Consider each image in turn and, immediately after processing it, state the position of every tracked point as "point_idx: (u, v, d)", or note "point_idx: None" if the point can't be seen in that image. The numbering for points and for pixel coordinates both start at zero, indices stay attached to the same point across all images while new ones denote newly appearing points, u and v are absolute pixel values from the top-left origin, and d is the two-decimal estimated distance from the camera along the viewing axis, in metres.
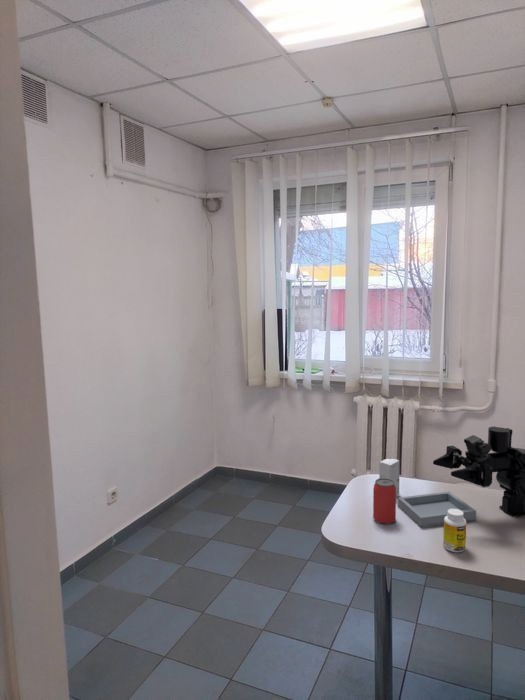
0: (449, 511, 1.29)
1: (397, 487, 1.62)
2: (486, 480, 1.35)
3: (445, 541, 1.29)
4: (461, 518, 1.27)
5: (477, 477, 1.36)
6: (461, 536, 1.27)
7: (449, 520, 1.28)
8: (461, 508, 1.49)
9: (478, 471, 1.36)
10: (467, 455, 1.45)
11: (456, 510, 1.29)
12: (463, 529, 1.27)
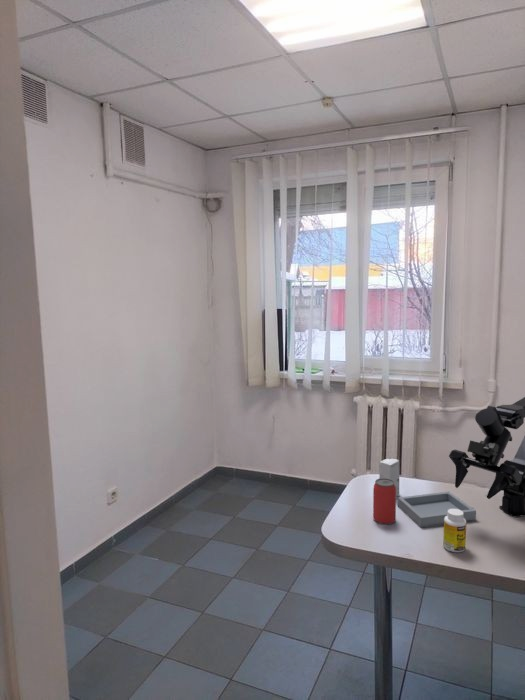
0: (449, 511, 1.29)
1: (397, 487, 1.62)
2: (518, 480, 1.28)
3: (445, 541, 1.29)
4: (461, 518, 1.27)
5: (508, 481, 1.29)
6: (461, 536, 1.27)
7: (449, 520, 1.28)
8: (461, 508, 1.49)
9: (507, 478, 1.28)
10: (476, 457, 1.36)
11: (456, 510, 1.29)
12: (463, 529, 1.27)
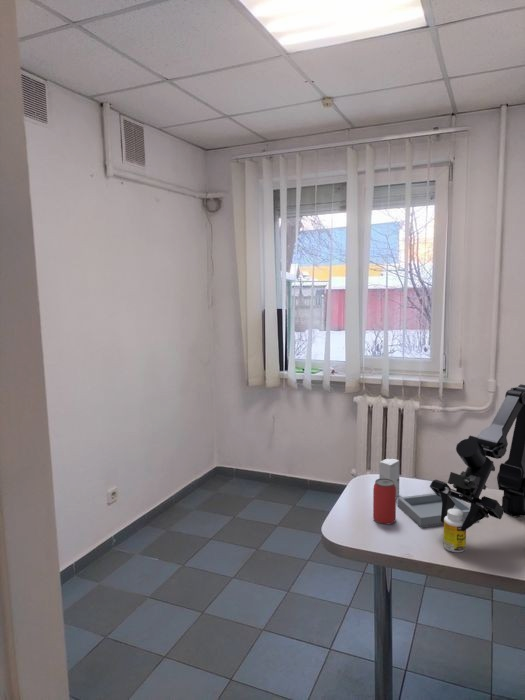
0: (449, 511, 1.29)
1: (397, 487, 1.62)
2: (499, 514, 1.24)
3: (445, 541, 1.29)
4: (461, 518, 1.27)
5: (483, 513, 1.26)
6: (460, 536, 1.27)
7: (449, 520, 1.28)
8: (461, 508, 1.49)
9: (482, 510, 1.25)
10: (457, 488, 1.31)
11: (456, 509, 1.29)
12: None
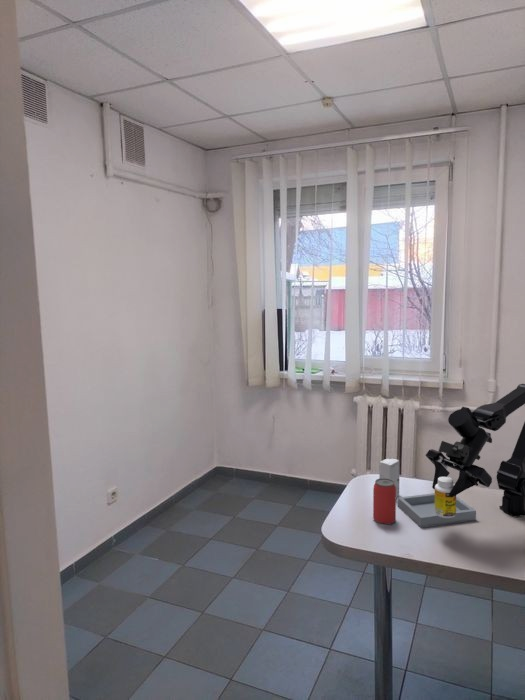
0: (439, 478, 1.34)
1: (397, 487, 1.62)
2: (487, 482, 1.27)
3: (435, 507, 1.34)
4: (450, 485, 1.32)
5: (472, 481, 1.30)
6: (449, 503, 1.31)
7: (438, 487, 1.33)
8: (461, 508, 1.49)
9: (469, 478, 1.29)
10: (450, 457, 1.36)
11: (447, 477, 1.34)
12: None
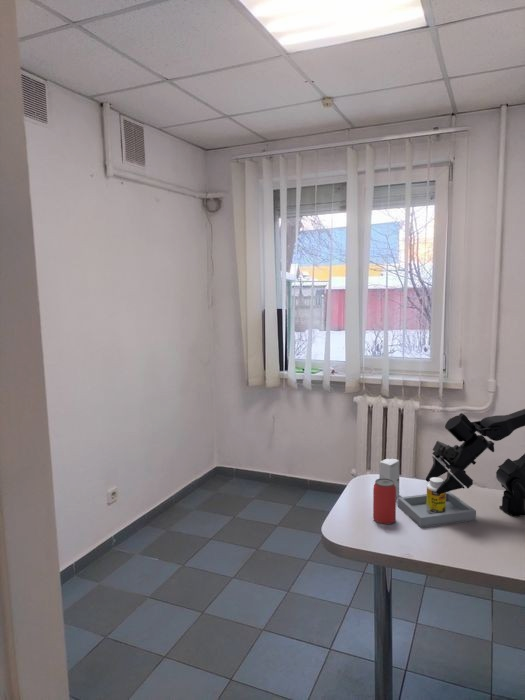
0: (432, 478, 1.49)
1: (397, 487, 1.62)
2: (465, 483, 1.38)
3: None
4: (437, 485, 1.46)
5: (458, 483, 1.40)
6: (435, 500, 1.46)
7: (429, 485, 1.49)
8: (461, 508, 1.49)
9: (454, 479, 1.40)
10: (446, 458, 1.49)
11: (439, 478, 1.48)
12: (438, 494, 1.46)
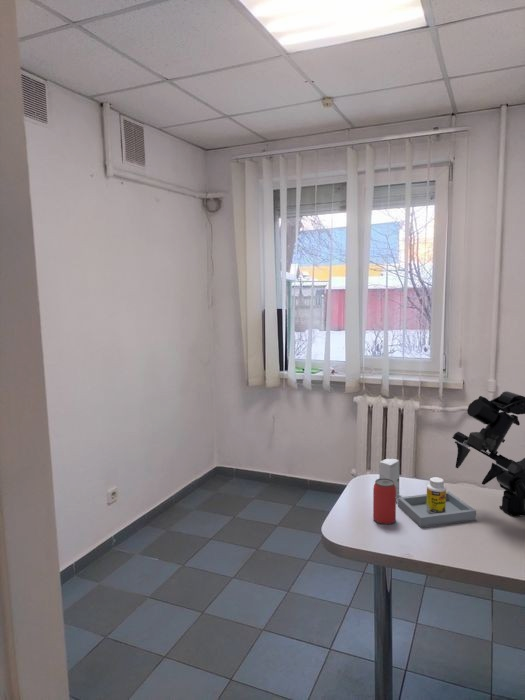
0: (432, 478, 1.49)
1: (397, 487, 1.62)
2: (512, 470, 1.38)
3: None
4: (437, 485, 1.46)
5: None
6: (435, 500, 1.46)
7: (429, 485, 1.49)
8: (461, 508, 1.49)
9: (501, 469, 1.38)
10: None
11: (439, 479, 1.48)
12: (438, 495, 1.46)
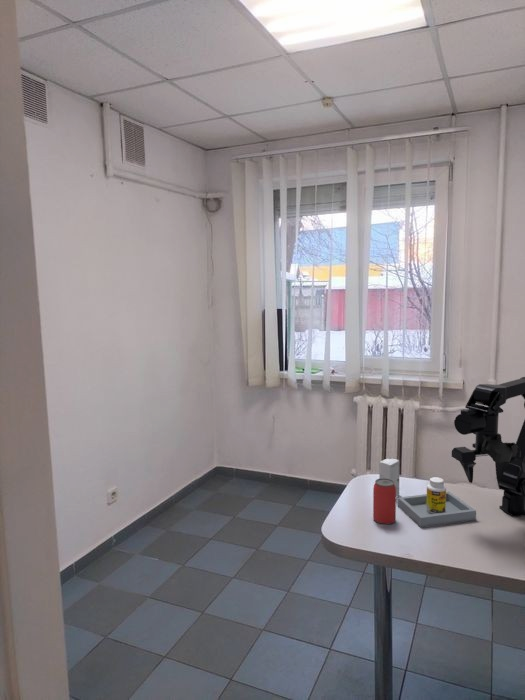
0: (432, 478, 1.49)
1: (397, 487, 1.62)
2: None
3: None
4: (437, 485, 1.46)
5: None
6: (435, 500, 1.46)
7: (429, 485, 1.49)
8: (461, 508, 1.49)
9: None
10: None
11: (439, 479, 1.48)
12: (438, 494, 1.46)
